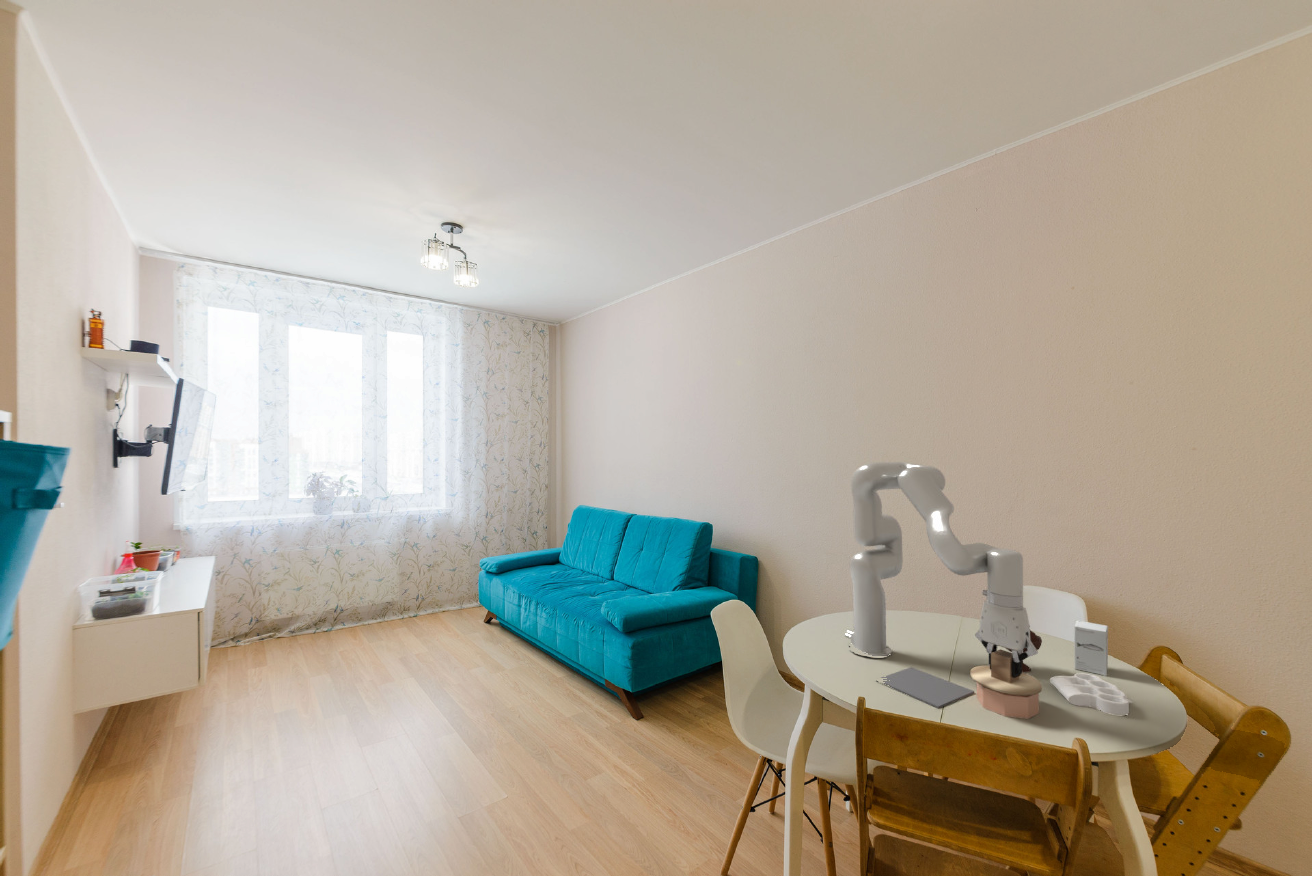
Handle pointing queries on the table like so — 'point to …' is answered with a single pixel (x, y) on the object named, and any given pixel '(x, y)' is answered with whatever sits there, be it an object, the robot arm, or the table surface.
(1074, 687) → the white holed part
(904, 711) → the table surface
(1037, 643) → the ice cream bowl
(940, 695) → the rubber mat
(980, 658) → the table surface
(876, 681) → the table surface
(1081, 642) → the supplement box
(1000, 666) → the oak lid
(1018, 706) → the terracotta bowl
